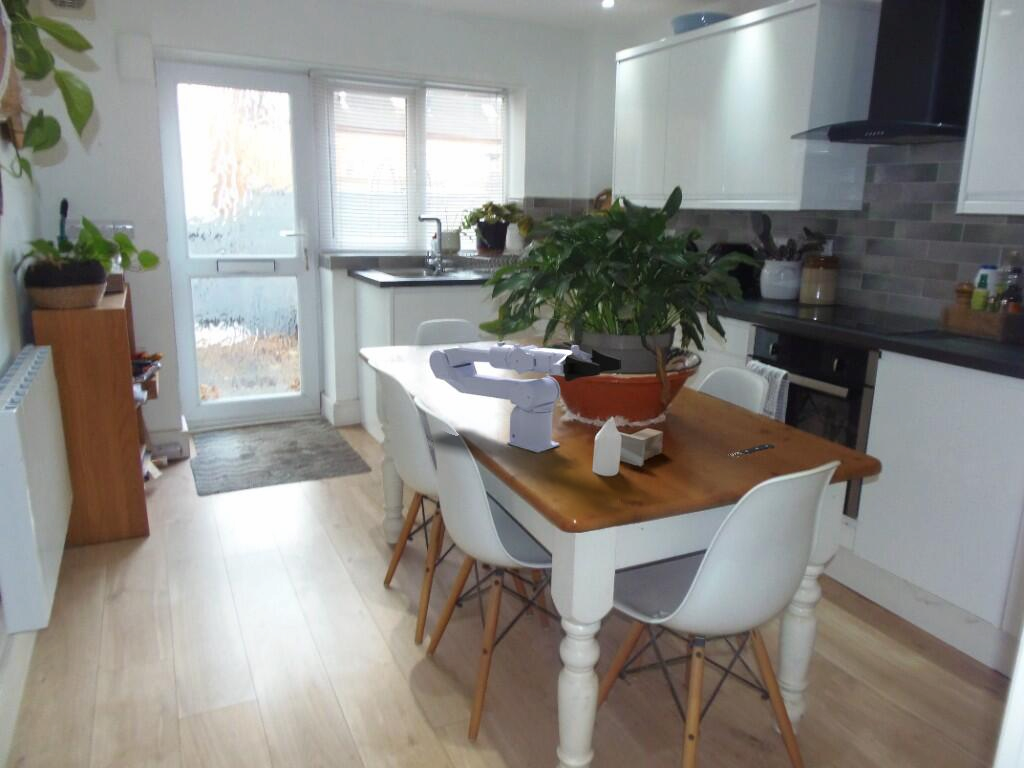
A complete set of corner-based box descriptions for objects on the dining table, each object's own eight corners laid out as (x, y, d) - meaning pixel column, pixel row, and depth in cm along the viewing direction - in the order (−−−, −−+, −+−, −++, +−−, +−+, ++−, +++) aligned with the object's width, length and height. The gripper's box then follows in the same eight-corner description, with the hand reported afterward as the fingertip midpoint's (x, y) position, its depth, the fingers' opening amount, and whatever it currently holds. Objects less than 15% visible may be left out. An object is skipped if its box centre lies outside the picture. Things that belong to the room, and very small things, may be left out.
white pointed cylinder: (592, 412, 156) (619, 412, 157) (589, 466, 159) (615, 466, 160) (599, 420, 151) (626, 420, 151) (595, 476, 153) (622, 476, 154)
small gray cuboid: (640, 447, 173) (642, 422, 171) (667, 454, 168) (669, 429, 167) (613, 458, 165) (614, 432, 163) (640, 466, 160) (642, 440, 159)
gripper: (536, 348, 157) (588, 352, 148) (577, 340, 168) (628, 343, 159) (537, 381, 158) (589, 387, 149) (578, 371, 169) (629, 376, 160)
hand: (609, 367), depth 154 cm, fingers open, 7 cm apart
